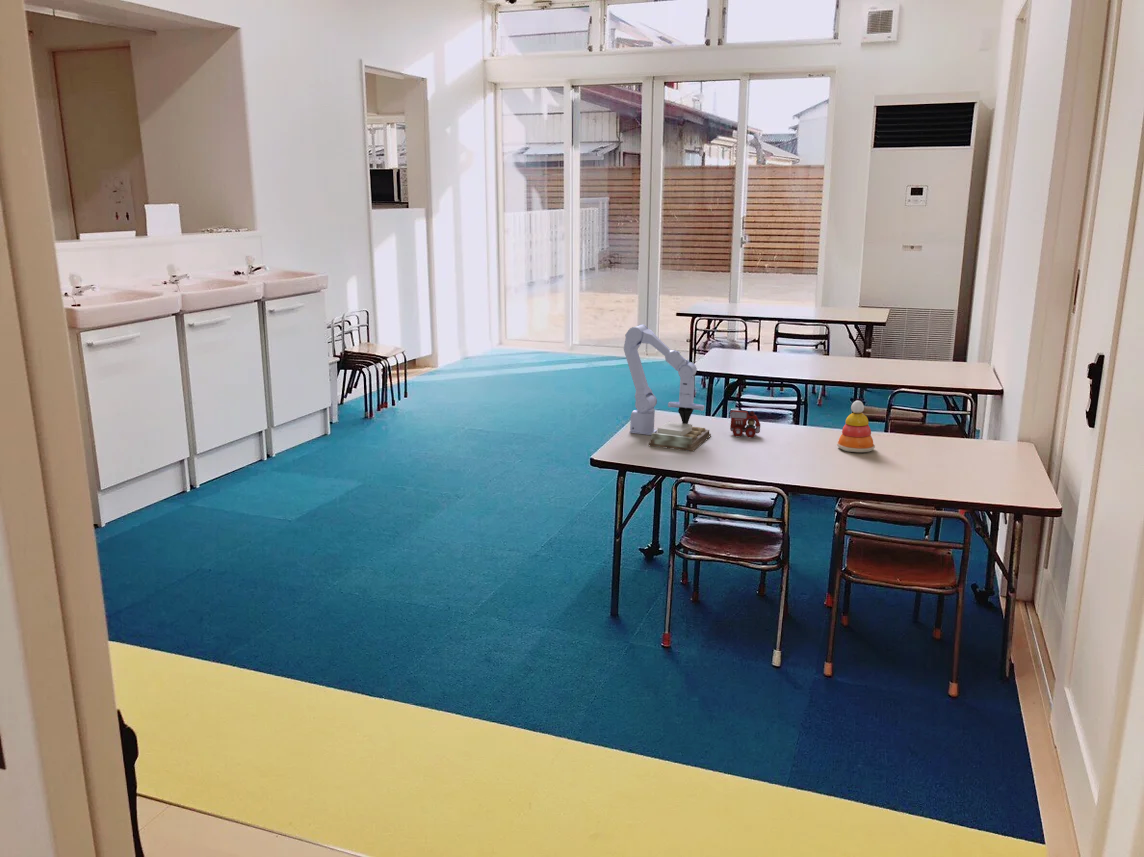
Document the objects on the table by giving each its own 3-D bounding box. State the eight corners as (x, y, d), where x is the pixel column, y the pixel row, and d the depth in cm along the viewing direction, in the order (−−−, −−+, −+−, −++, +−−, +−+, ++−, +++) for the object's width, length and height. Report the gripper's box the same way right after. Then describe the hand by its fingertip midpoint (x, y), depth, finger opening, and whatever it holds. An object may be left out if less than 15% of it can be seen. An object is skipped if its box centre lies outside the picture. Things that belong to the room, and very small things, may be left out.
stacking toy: (870, 445, 354) (874, 397, 349) (878, 455, 341) (883, 405, 336) (833, 443, 356) (837, 395, 351) (840, 453, 342) (844, 404, 337)
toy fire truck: (759, 438, 362) (761, 413, 359) (728, 436, 364) (730, 411, 361) (759, 434, 369) (761, 409, 366) (729, 432, 371) (730, 408, 368)
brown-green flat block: (648, 445, 349) (648, 433, 348) (668, 430, 372) (669, 419, 370) (692, 451, 342) (693, 438, 341) (710, 436, 364) (711, 424, 363)
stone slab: (657, 433, 353) (657, 427, 352) (668, 427, 363) (669, 421, 362) (681, 437, 348) (681, 431, 347) (692, 430, 358) (692, 424, 358)
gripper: (707, 393, 358) (705, 425, 362) (672, 389, 364) (671, 421, 367) (702, 396, 352) (700, 429, 355) (666, 392, 358) (665, 425, 361)
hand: (685, 426), depth 361 cm, fingers closed
